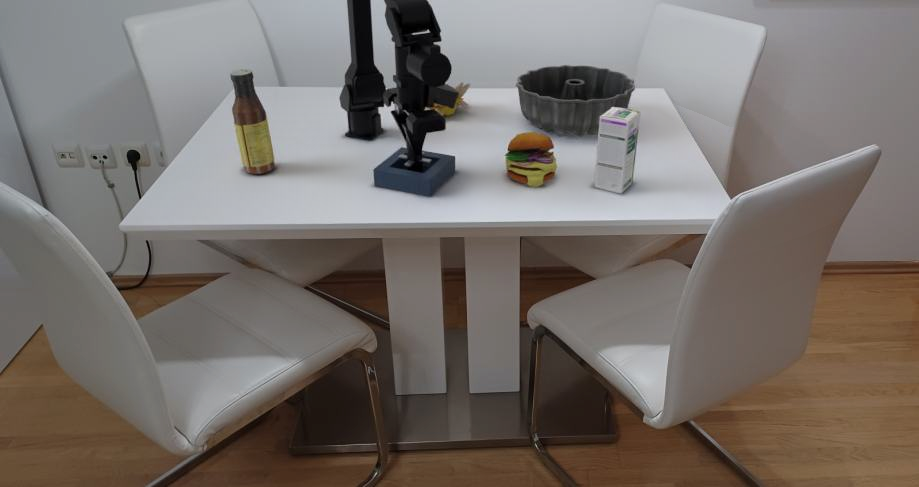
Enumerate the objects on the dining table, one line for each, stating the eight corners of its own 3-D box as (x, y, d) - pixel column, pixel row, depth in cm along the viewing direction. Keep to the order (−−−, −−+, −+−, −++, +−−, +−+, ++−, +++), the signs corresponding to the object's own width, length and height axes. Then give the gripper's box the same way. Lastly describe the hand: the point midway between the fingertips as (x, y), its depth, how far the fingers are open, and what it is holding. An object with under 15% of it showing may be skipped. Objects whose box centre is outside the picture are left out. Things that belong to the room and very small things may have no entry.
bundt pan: (499, 135, 159) (500, 91, 154) (532, 99, 180) (534, 59, 175) (618, 152, 151) (624, 106, 146) (638, 111, 172) (643, 70, 167)
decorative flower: (447, 91, 180) (451, 55, 173) (479, 112, 174) (484, 75, 168) (402, 110, 171) (404, 73, 164) (434, 132, 166) (438, 95, 159)
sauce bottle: (281, 165, 145) (268, 68, 135) (264, 177, 140) (249, 78, 130) (253, 161, 147) (238, 65, 137) (236, 173, 142) (218, 74, 132)
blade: (392, 182, 138) (389, 133, 133) (407, 169, 143) (405, 121, 138) (423, 188, 136) (422, 138, 131) (438, 174, 141) (437, 126, 136)
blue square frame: (374, 186, 137) (373, 169, 135) (402, 162, 146) (401, 146, 145) (430, 196, 133) (429, 179, 131) (455, 172, 142) (455, 155, 141)
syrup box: (621, 194, 134) (631, 120, 126) (592, 187, 136) (599, 114, 129) (632, 183, 138) (642, 110, 130) (603, 176, 140) (611, 105, 133)
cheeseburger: (508, 189, 135) (507, 136, 132) (501, 178, 145) (500, 129, 142) (561, 186, 136) (561, 133, 133) (550, 176, 146) (550, 126, 143)
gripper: (473, 81, 124) (472, 164, 132) (435, 53, 139) (437, 129, 147) (412, 88, 120) (415, 173, 128) (380, 59, 135) (384, 137, 143)
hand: (414, 152), depth 137 cm, fingers closed on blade, 3 cm apart
